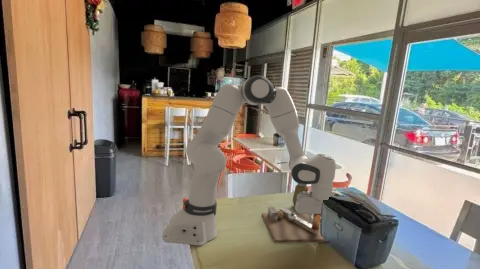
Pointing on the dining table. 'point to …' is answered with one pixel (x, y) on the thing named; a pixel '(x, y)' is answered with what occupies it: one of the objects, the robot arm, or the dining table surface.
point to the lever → (293, 218)
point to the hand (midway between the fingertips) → (316, 222)
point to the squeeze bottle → (299, 191)
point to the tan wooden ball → (280, 214)
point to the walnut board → (288, 228)
